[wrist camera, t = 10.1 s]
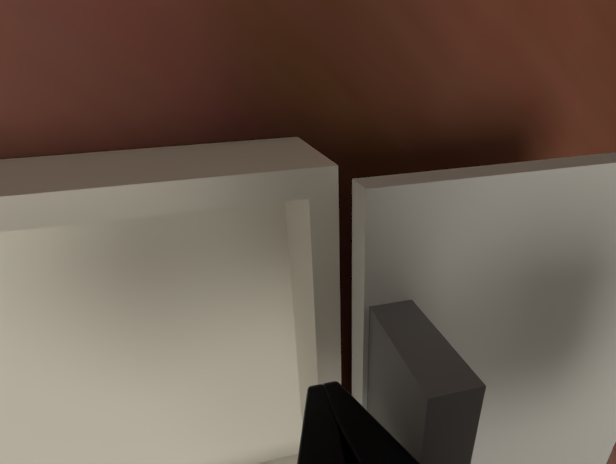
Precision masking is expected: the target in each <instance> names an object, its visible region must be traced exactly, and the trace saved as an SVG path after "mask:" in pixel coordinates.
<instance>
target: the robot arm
mask: <svg viewBox="0 0 616 464" xmlns="http://www.w3.org/2000/svg"><path fill="white" fill-rule="evenodd" d="M297 464H420V463H419V462H418V461H417V460H416V459H415V458H414V457H413V456H412V455H411V454H410V453H409V452H408V451H407V450H406V449H405V448H404V447H403V446H402V445H401V444H400V443H399V442H398V441H397V440H396V439H395V438H394V437H393V436H392V435H391V434H390V433H389V432H388V431H387V430H386V429H385V428H384V427H383V426H382V425H381V424H380V423H379V422H378V421H377V420H376V419H375V418H374V417H373V416H372V415H371V414H370V413H369V412H368V411H367V410H366V409H365V408H364V407H363V406H362V405H361V404H360V403H359V402H358V401H357V400H356V399H355V398H354V397H353V396H352V395H351V394H350V393H349V392H348V391H347V390H346V389H345V388H344V387H343V386H342V385H341V384H340V383H339V382H337V381H333V382H328V383H324V384H318V385H313V386H309V387H308V389H307V396H306V403H305V410H304V417H303V424H302V432H301V439H300V446H299V453H298V460H297Z"/></svg>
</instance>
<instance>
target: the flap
mask: <svg viewBox="0 0 616 464" xmlns="http://www.w3.org/2000/svg"><path fill="white" fill-rule="evenodd" d="M352 396H353V397H354V398H355V399H356V400H357V401H358V402H359V403H360V404H361V405H362V406H363V407H364V408H365V409H366V410H367V411H368V412H369V413H370V414H371V415H372V416H373V417H374V418H375V419H376V420H377V421H378V422H379V423H380V424H381V425H382V426H383V427H384V428H385V429H386V430H387V431H388V432H389V433H390V434H391V435H392V436H393V437H394V438H395V439H396V440H397V441H398V442H399V443H400V444H401V445H402V446H403V447H404V448H405V449H406V450H407V451H408V452H409V453H410V454H411V455H412V456H413V457H414V458H415V459H416V460H417V461H418V462H419V463H420V464H606V463H607V460H608V458H609V456H610V453H611V451H612V449H613V446H614V444H615V442H616V152H615V153H605V154H595V155H585V156H575V157H565V158H555V159H545V160H535V161H525V162H515V163H505V164H495V165H485V166H475V167H465V168H455V169H445V170H435V171H425V172H415V173H405V174H395V175H385V176H374V177H364V178H354V179H352Z"/></svg>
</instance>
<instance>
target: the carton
mask: <svg viewBox="0 0 616 464" xmlns="http://www.w3.org/2000/svg"><path fill="white" fill-rule="evenodd" d="M333 381H337V382H339V383H340V384H341V324H340V254H339V184H338V165H337V164H335V163H334V162H333V161H331V160H330V159H328V158H327V157H326V156H324V155H323V154H321V153H320V152H319V151H317V150H316V149H314V148H313V147H312V146H310V145H309V144H307V143H306V142H304V141H303V140H302V139H300V138H299V137H287V138H274V139H261V140H248V141H234V142H221V143H208V144H195V145H182V146H169V147H156V148H143V149H130V150H117V151H104V152H91V153H78V154H65V155H52V156H39V157H26V158H13V159H0V464H297V460H298V453H299V446H300V439H301V432H302V424H303V417H304V410H305V403H306V396H307V389H308V387H309V386H313V385H318V384H324V383H328V382H333Z"/></svg>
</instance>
